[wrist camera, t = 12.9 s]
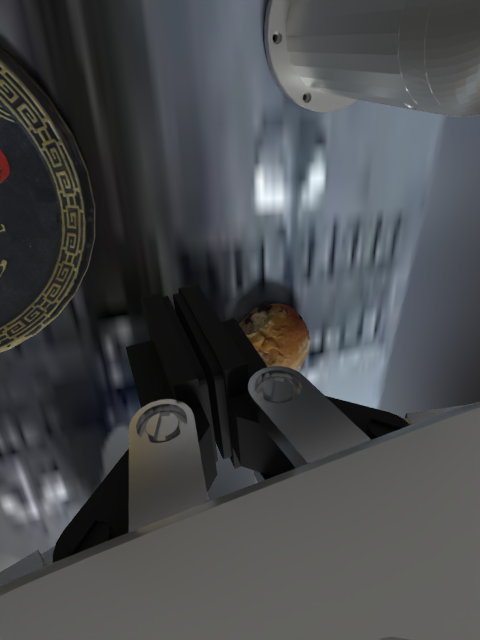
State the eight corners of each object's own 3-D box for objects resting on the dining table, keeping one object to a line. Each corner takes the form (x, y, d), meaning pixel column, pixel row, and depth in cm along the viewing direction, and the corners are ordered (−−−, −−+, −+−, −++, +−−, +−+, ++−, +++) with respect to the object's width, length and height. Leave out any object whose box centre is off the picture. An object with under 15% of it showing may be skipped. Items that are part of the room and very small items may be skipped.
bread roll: (216, 344, 55) (232, 399, 51) (234, 298, 47) (254, 361, 43) (283, 335, 59) (302, 387, 55) (310, 292, 51) (335, 349, 47)
